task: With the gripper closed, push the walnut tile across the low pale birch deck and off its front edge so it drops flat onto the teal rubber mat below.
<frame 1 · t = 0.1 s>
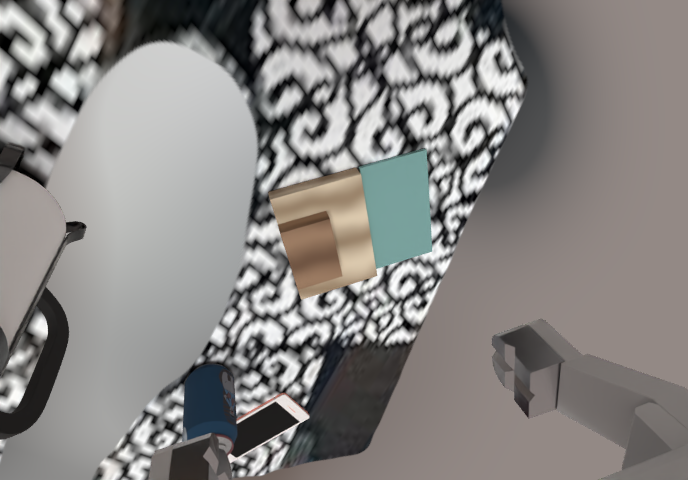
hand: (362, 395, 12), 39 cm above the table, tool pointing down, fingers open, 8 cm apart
mat: (397, 211, 57), on the table
tile: (310, 247, 54), point 2 cm above the table, touching deck
coffee press: (18, 215, 45), on the table
cell phone: (253, 425, 74), on the table
deck: (325, 233, 56), on the table
soda can: (209, 375, 64), on the table
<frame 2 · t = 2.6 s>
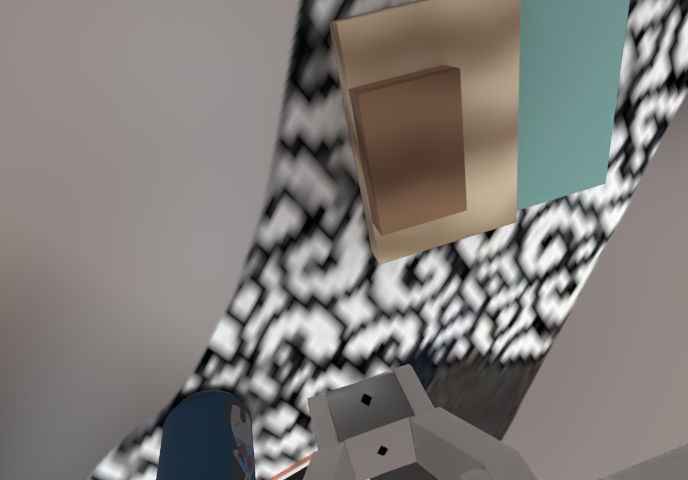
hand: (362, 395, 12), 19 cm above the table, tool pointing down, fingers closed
mat: (560, 95, 31), on the table
tile: (405, 149, 27), point 2 cm above the table, touching deck
deck: (429, 131, 29), on the table
soda can: (209, 411, 36), on the table
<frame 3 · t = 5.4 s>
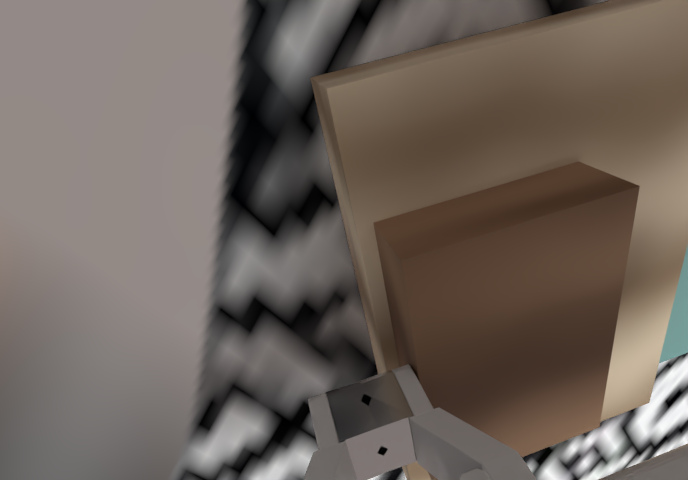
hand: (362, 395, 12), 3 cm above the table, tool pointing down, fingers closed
tile: (484, 318, 14), point 2 cm above the table, touching deck
deck: (506, 267, 16), on the table
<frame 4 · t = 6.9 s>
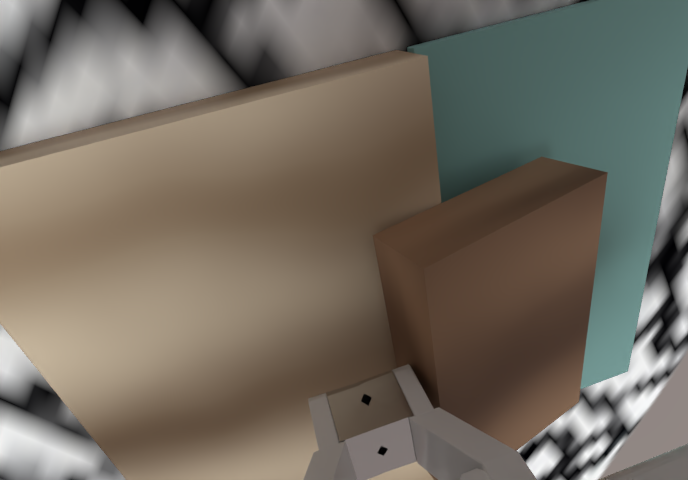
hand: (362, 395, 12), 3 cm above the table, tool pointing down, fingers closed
mat: (543, 250, 16), on the table
tile: (471, 317, 14), point 2 cm above the table, tilted 15°, touching gripper
deck: (277, 338, 15), on the table
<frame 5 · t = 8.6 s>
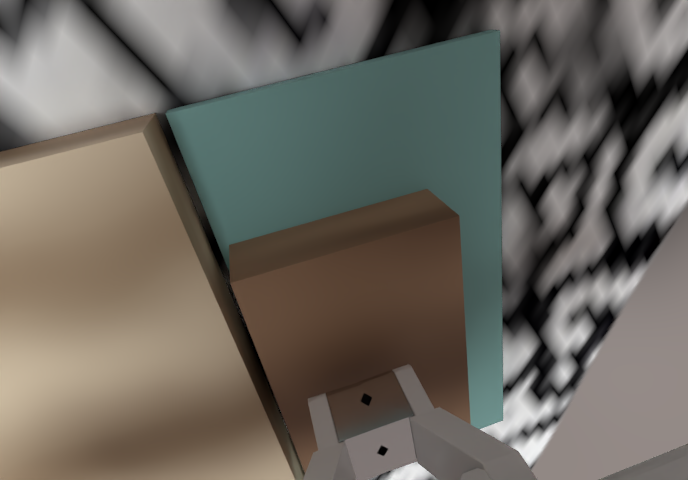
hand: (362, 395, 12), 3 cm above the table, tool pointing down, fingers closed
mat: (381, 306, 15), on the table
tile: (357, 331, 15), resting on mat
deck: (86, 402, 14), on the table
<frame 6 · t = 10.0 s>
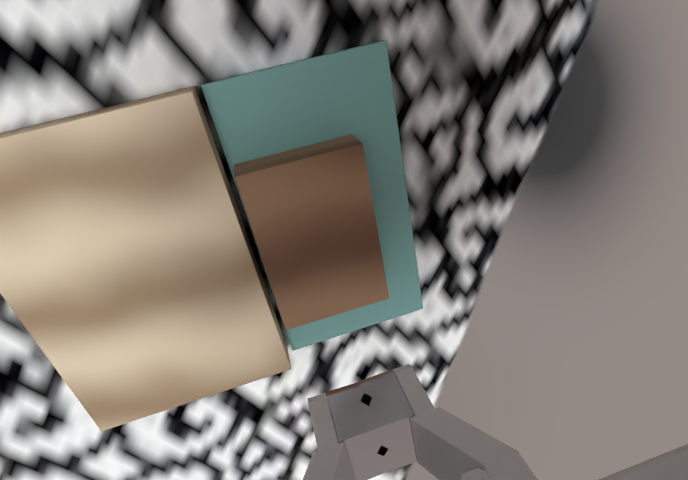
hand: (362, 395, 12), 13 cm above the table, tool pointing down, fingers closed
mat: (330, 214, 24), on the table
tile: (314, 228, 23), resting on mat
deck: (146, 267, 22), on the table
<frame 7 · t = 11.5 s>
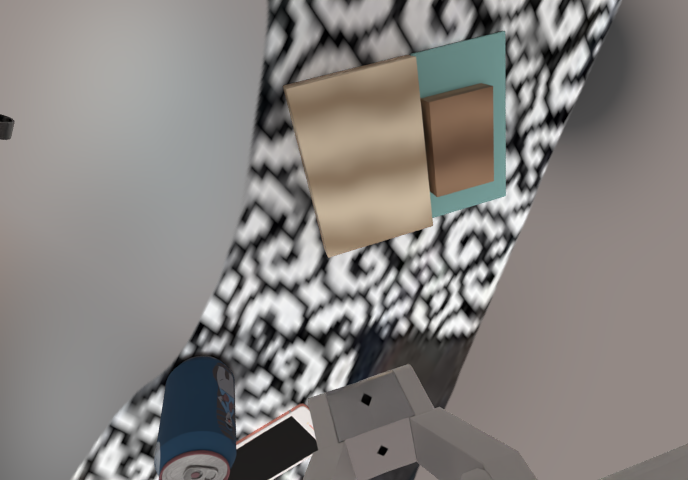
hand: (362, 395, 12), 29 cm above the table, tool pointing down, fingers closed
mat: (461, 131, 41), on the table
tile: (453, 139, 41), resting on mat
cell phone: (260, 452, 55), on the table
deck: (362, 159, 40), on the table
soda can: (201, 374, 47), on the table
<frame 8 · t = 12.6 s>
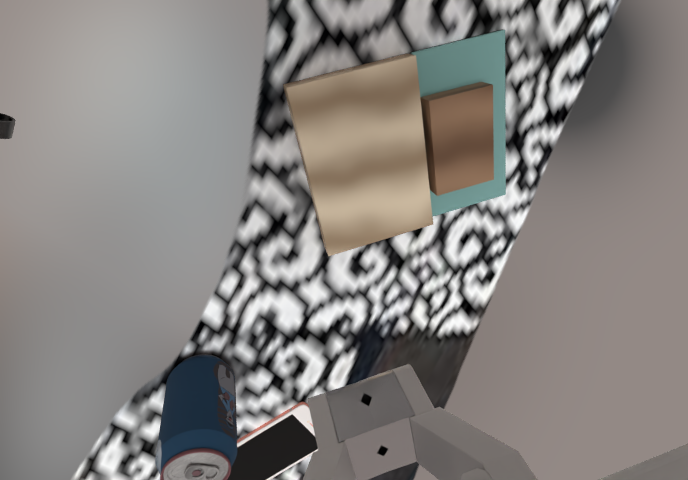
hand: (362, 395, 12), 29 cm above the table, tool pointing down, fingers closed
mat: (461, 130, 41), on the table
tile: (453, 137, 41), resting on mat
cell phone: (261, 450, 55), on the table
deck: (362, 158, 40), on the table
soda can: (202, 372, 47), on the table
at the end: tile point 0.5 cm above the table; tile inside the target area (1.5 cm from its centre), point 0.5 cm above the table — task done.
